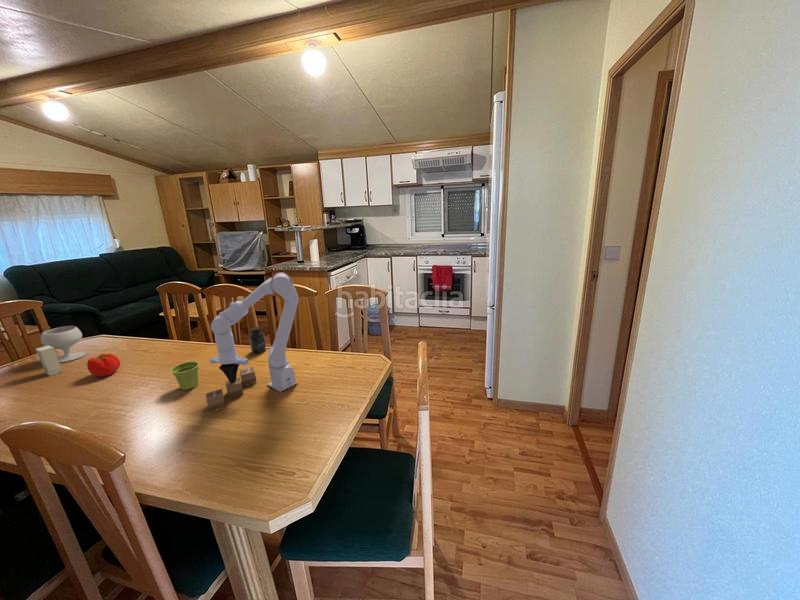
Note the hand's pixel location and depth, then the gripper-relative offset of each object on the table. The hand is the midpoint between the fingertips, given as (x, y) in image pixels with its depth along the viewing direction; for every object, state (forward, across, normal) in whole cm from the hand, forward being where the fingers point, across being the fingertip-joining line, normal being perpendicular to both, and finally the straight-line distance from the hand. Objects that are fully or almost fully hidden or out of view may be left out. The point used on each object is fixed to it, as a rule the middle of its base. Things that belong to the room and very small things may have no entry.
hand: (233, 380), depth 120 cm
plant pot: (+6, +22, -2) cm, 23 cm away
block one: (+5, +1, +8) cm, 10 cm away
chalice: (+5, +107, -19) cm, 109 cm away
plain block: (+5, 0, 0) cm, 5 cm away
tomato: (+5, +69, -8) cm, 70 cm away
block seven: (+5, 0, -8) cm, 10 cm away
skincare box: (+5, +96, -6) cm, 96 cm away
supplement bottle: (+6, +14, -36) cm, 39 cm away
